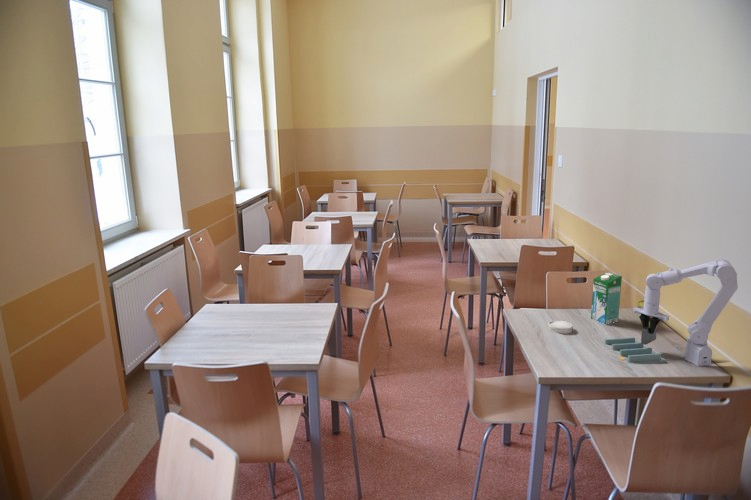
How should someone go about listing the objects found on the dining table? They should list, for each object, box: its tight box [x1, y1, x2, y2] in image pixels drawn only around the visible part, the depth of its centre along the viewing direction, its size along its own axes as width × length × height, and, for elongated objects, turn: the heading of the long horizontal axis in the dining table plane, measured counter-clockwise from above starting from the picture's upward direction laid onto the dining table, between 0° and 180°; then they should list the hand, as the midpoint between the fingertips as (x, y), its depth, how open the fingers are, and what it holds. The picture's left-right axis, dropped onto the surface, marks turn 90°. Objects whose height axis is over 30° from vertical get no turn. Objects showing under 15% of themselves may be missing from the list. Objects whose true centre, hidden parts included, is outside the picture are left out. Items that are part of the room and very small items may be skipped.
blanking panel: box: [640, 325, 658, 346], centre depth 225 cm, size 2×8×7 cm, turn 124°
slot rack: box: [604, 337, 667, 364], centre depth 226 cm, size 21×18×3 cm
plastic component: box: [636, 299, 659, 328], centre depth 263 cm, size 20×7×10 cm, turn 169°
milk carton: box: [590, 272, 623, 325], centre depth 261 cm, size 9×9×25 cm
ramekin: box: [547, 320, 574, 334], centre depth 249 cm, size 11×11×5 cm
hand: (648, 332), depth 225 cm, fingers closed on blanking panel, 2 cm apart
